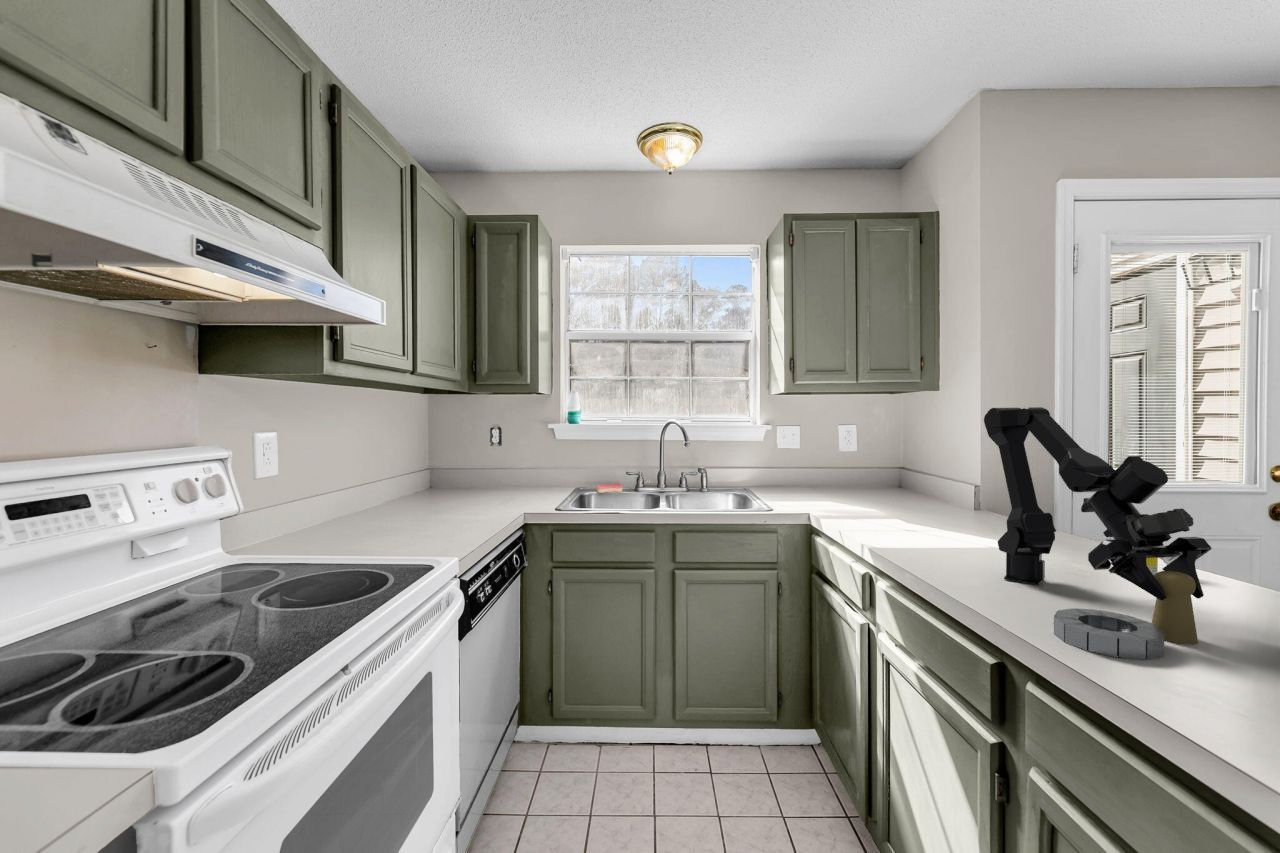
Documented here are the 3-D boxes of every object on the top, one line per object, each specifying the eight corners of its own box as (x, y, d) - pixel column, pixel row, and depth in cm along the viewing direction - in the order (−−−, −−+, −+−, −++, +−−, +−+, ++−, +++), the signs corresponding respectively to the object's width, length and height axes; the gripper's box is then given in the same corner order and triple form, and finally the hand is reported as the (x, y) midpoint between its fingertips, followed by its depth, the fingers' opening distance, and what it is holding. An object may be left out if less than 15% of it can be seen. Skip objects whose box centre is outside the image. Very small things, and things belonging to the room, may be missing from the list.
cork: (1139, 631, 100) (1140, 568, 100) (1172, 630, 101) (1173, 567, 100) (1174, 645, 94) (1175, 578, 94) (1209, 644, 95) (1210, 577, 94)
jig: (1048, 642, 96) (1048, 624, 96) (1061, 619, 106) (1061, 603, 106) (1162, 667, 87) (1162, 647, 86) (1165, 639, 97) (1165, 621, 97)
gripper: (1103, 493, 100) (1166, 576, 89) (1200, 490, 102) (1274, 571, 91) (1064, 530, 108) (1118, 609, 97) (1155, 526, 110) (1218, 604, 99)
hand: (1182, 598), depth 96 cm, fingers open, 6 cm apart
